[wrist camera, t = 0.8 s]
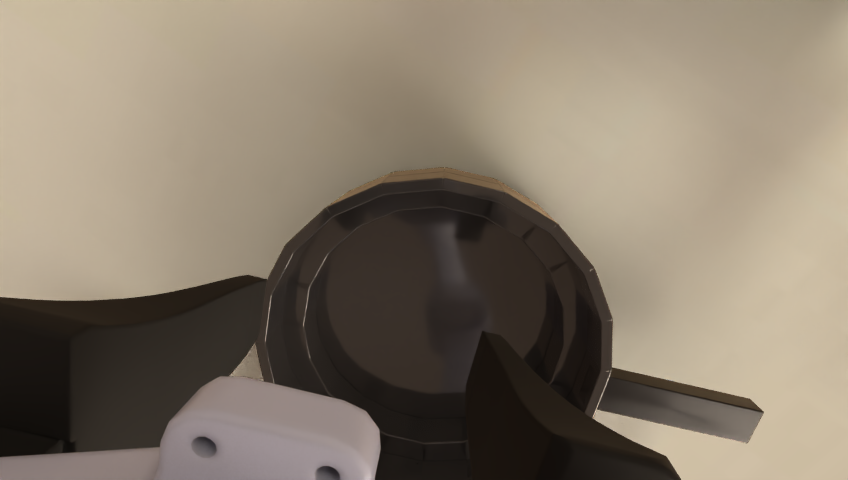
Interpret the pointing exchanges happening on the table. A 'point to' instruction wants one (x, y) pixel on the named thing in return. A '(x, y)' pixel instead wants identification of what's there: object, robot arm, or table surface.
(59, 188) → the table surface
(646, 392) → the skillet handle
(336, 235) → the skillet
